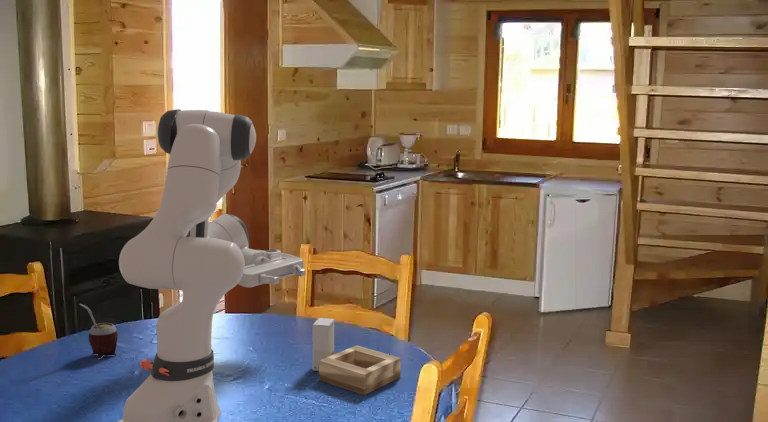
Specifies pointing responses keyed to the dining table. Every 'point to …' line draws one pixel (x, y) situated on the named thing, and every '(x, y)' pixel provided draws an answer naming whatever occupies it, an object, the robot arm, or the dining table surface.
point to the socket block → (359, 369)
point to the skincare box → (322, 341)
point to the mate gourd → (102, 337)
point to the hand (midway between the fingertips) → (290, 277)
